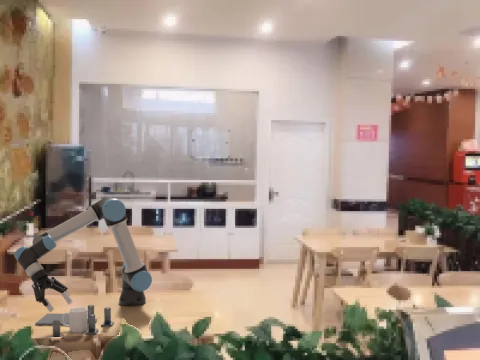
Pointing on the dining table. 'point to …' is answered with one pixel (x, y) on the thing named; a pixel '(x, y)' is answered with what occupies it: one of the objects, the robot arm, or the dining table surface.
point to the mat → (50, 318)
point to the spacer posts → (88, 322)
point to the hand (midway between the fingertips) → (61, 306)
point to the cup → (76, 319)
